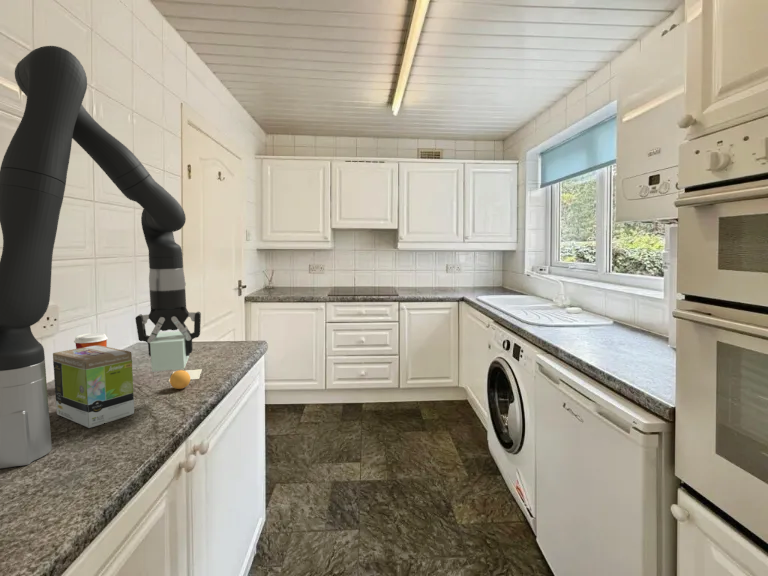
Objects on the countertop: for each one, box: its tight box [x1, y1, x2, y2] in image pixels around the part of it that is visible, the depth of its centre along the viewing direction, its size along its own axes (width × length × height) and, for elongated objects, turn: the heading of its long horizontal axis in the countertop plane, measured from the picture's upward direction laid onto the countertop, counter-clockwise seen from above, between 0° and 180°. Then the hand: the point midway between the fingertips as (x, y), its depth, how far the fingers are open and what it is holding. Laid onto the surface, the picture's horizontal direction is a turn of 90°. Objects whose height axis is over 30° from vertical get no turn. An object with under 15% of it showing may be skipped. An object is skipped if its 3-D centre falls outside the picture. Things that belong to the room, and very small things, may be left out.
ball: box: [169, 369, 191, 390], centre depth 113 cm, size 5×5×5 cm
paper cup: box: [73, 332, 109, 349], centre depth 116 cm, size 8×8×14 cm
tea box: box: [52, 345, 135, 429], centre depth 95 cm, size 15×10×15 cm
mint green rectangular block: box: [150, 330, 190, 373], centre depth 101 cm, size 12×7×7 cm, turn 19°
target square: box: [168, 368, 203, 383], centre depth 125 cm, size 10×8×1 cm
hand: (171, 356), depth 101 cm, fingers closed on mint green rectangular block, 6 cm apart
